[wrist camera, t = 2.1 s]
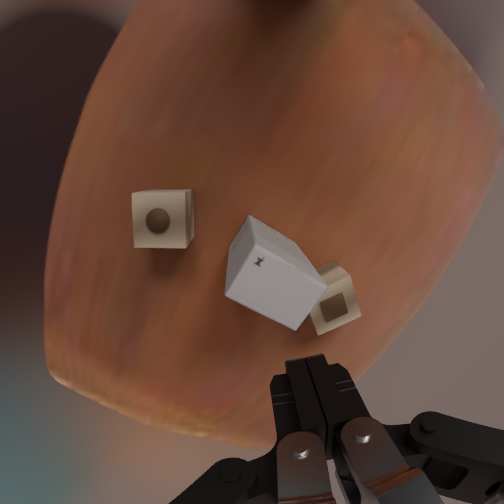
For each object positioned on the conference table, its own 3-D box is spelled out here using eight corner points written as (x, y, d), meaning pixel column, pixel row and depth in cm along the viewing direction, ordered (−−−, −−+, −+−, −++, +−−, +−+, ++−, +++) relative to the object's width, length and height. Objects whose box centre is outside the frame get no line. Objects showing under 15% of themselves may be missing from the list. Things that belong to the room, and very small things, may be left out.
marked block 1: (148, 189, 28) (130, 193, 23) (194, 188, 28) (184, 191, 23) (150, 235, 29) (133, 248, 24) (194, 236, 29) (185, 249, 24)
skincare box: (227, 248, 30) (220, 295, 18) (248, 213, 29) (254, 240, 17) (276, 275, 31) (296, 333, 19) (297, 243, 30) (331, 285, 18)
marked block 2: (293, 277, 31) (303, 297, 26) (334, 260, 31) (351, 276, 26) (307, 313, 32) (318, 337, 27) (345, 296, 32) (362, 317, 27)
